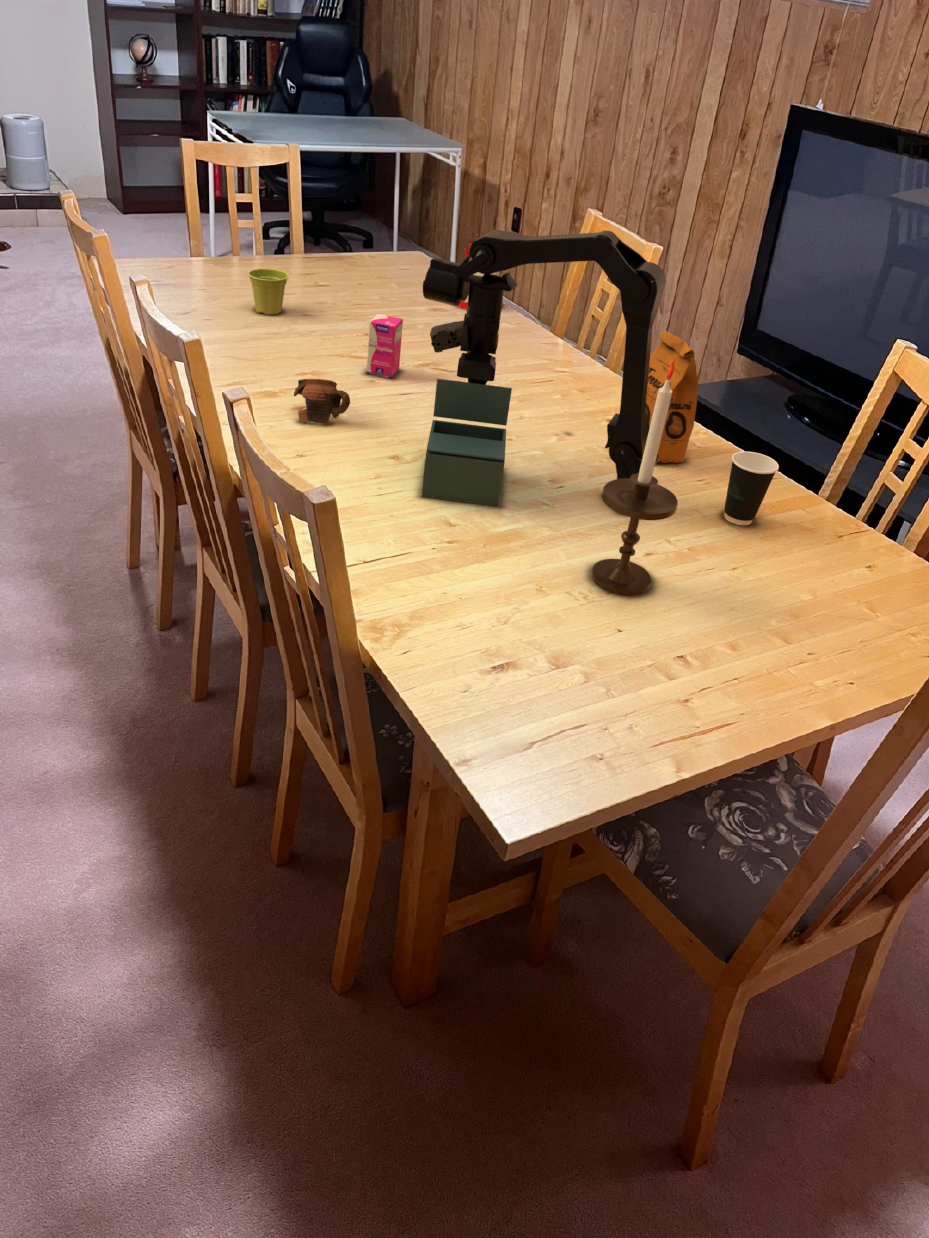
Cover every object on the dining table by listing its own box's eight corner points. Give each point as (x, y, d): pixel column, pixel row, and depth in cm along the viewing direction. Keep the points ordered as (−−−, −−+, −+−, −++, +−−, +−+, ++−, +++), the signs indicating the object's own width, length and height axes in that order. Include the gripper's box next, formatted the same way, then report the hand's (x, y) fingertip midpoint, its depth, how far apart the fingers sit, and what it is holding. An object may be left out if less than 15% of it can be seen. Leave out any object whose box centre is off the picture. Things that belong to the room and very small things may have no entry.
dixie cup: (710, 521, 169) (727, 463, 163) (720, 503, 175) (736, 447, 169) (756, 534, 167) (775, 476, 160) (764, 516, 173) (782, 459, 167)
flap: (437, 379, 167) (437, 378, 167) (433, 416, 171) (433, 415, 171) (511, 388, 167) (511, 388, 168) (506, 425, 171) (506, 425, 172)
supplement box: (365, 374, 207) (368, 321, 200) (374, 365, 212) (377, 312, 205) (391, 379, 206) (395, 326, 200) (399, 370, 211) (403, 318, 204)
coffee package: (644, 465, 185) (671, 352, 172) (619, 437, 194) (643, 328, 182) (691, 465, 187) (721, 353, 175) (664, 437, 197) (691, 329, 185)
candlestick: (609, 553, 156) (658, 338, 136) (668, 581, 151) (728, 362, 131) (571, 577, 149) (617, 353, 129) (632, 607, 143) (689, 379, 124)
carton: (421, 496, 164) (426, 449, 160) (428, 461, 176) (433, 415, 171) (498, 506, 165) (505, 459, 160) (500, 470, 176) (506, 424, 171)
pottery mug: (282, 422, 184) (284, 377, 183) (308, 428, 193) (310, 386, 192) (339, 421, 179) (340, 376, 179) (363, 428, 188) (364, 384, 188)
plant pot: (243, 305, 235) (243, 268, 230) (282, 304, 238) (282, 267, 234) (254, 318, 228) (253, 280, 223) (293, 317, 232) (293, 279, 227)
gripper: (440, 289, 170) (432, 375, 179) (430, 323, 155) (422, 415, 164) (503, 297, 171) (492, 383, 179) (500, 332, 155) (488, 423, 164)
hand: (473, 400), depth 172 cm, fingers closed
